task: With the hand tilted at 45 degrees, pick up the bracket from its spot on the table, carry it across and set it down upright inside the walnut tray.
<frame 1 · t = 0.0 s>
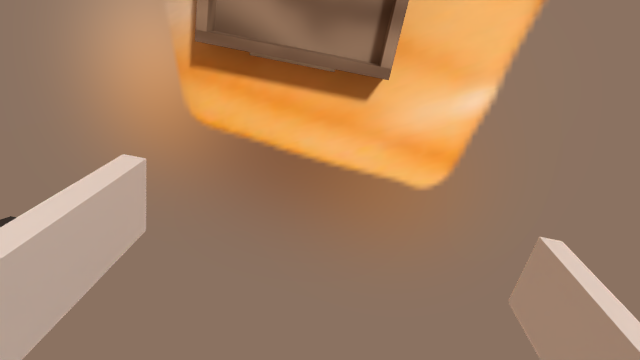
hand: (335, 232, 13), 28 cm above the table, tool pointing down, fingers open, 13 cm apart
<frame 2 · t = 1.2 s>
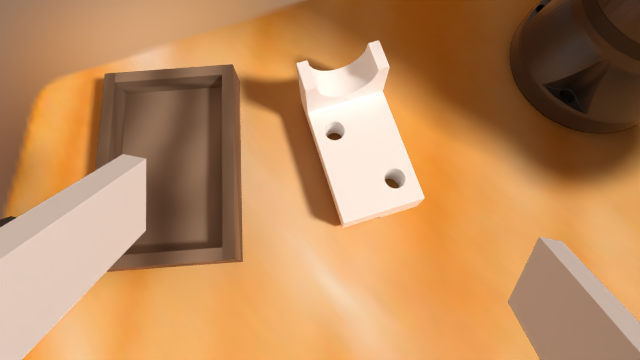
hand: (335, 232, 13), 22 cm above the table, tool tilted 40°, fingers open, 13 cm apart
bracket: (356, 155, 37), on the table
walnut tray: (177, 169, 36), on the table
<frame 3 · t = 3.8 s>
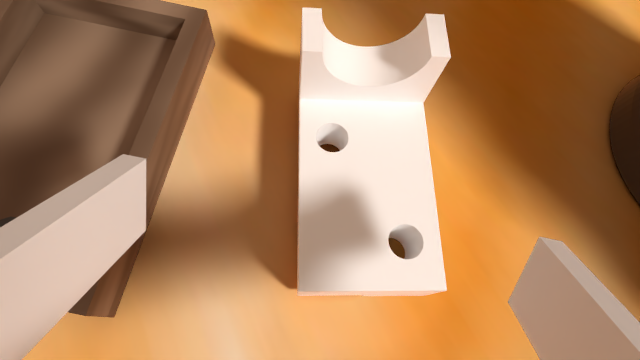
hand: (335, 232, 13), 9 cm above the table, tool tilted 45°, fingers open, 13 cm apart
bracket: (354, 187, 24), on the table
walnut tray: (73, 140, 23), on the table
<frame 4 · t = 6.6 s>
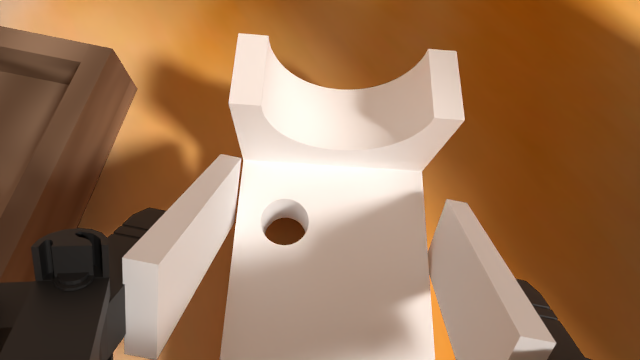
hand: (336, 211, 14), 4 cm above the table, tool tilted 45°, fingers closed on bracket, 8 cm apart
bracket: (322, 278, 17), on the table, touching gripper
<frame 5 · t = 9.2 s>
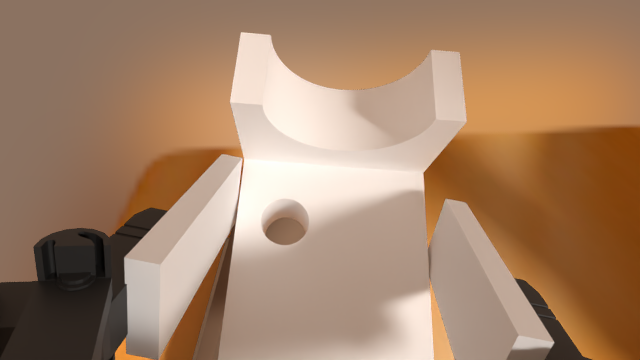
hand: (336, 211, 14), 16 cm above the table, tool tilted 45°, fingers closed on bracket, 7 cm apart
bracket: (322, 279, 17), point 12 cm above the table, touching gripper
walnut tray: (302, 316, 28), on the table
when the fingers open (6 cm above the table, at t = 12.4 s): bracket stays where it is, resting on walnut tray.
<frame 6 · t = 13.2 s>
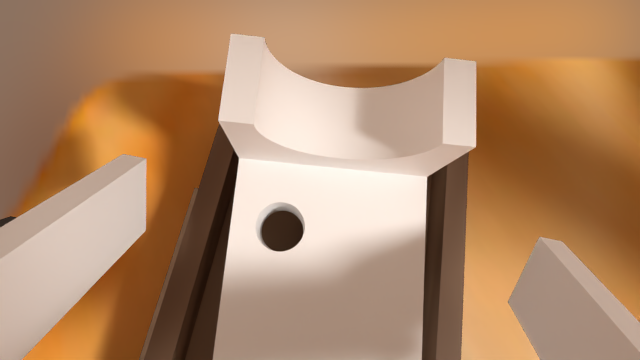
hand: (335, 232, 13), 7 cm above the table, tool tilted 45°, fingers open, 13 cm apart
bracket: (319, 270, 17), point 2 cm above the table, touching walnut tray
walnut tray: (312, 309, 18), on the table
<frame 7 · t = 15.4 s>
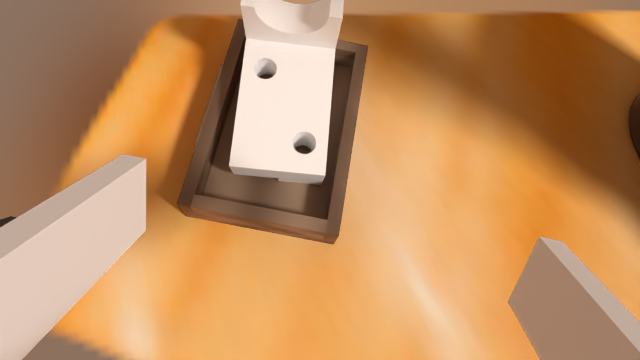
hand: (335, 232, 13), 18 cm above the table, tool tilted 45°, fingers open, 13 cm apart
bracket: (286, 108, 33), point 2 cm above the table, touching walnut tray
walnut tray: (282, 133, 34), on the table
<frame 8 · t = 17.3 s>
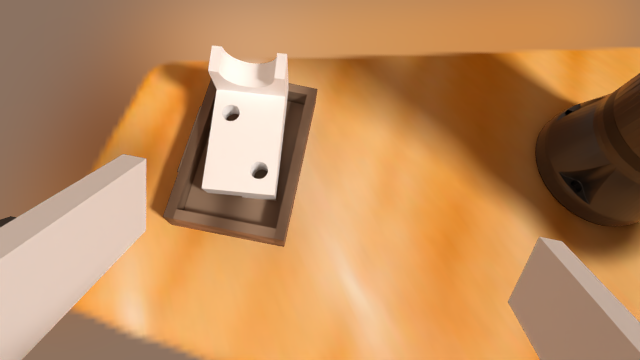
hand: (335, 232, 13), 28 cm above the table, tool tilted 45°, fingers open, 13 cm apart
bracket: (250, 140, 43), point 2 cm above the table, touching walnut tray
walnut tray: (249, 159, 44), on the table
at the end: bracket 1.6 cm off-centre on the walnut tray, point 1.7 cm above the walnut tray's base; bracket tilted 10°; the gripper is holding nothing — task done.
